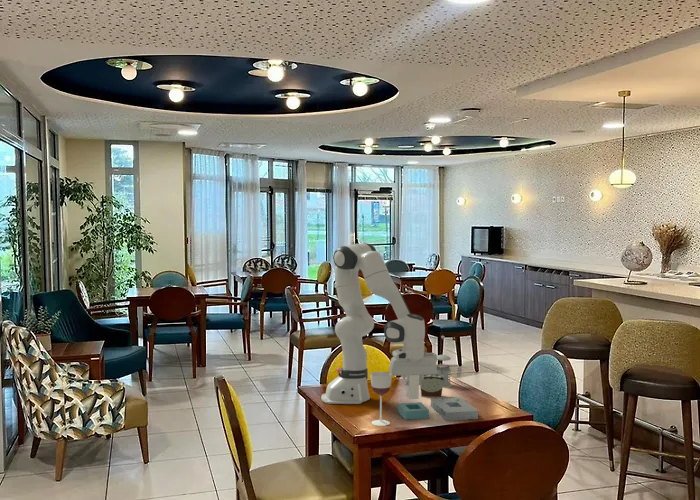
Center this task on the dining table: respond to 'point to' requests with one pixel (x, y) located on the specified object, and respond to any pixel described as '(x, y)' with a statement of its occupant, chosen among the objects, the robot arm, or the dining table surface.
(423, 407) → the teal socket base
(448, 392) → the dining table surface
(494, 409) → the dining table surface
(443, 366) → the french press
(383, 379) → the wineglass
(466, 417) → the box
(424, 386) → the food container
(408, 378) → the plug
